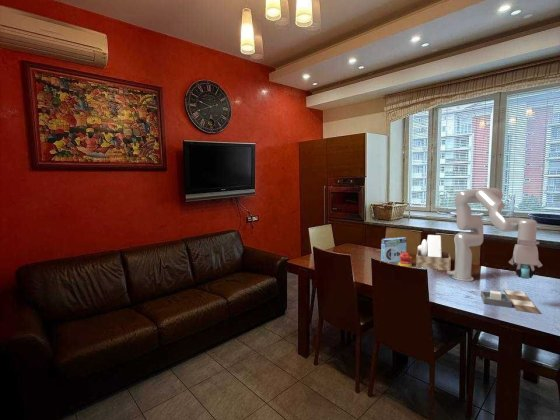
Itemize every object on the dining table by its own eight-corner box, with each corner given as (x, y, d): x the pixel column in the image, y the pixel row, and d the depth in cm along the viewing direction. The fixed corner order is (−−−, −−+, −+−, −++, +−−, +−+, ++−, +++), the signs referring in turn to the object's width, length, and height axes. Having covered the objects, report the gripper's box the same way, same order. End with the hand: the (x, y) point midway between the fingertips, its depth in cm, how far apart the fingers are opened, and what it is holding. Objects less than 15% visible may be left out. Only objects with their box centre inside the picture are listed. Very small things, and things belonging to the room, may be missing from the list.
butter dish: (441, 257, 223) (417, 255, 229) (438, 264, 238) (416, 262, 244) (440, 235, 230) (418, 234, 236) (438, 243, 245) (417, 242, 251)
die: (490, 301, 164) (491, 293, 164) (489, 298, 168) (490, 290, 168) (501, 302, 162) (502, 294, 161) (500, 299, 166) (500, 291, 165)
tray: (483, 303, 162) (484, 298, 161) (480, 296, 172) (480, 291, 172) (511, 307, 156) (511, 302, 156) (506, 299, 167) (506, 294, 167)
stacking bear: (411, 281, 199) (412, 255, 197) (395, 279, 204) (396, 253, 202) (414, 276, 208) (414, 251, 206) (398, 274, 213) (399, 250, 212)
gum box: (402, 265, 236) (402, 236, 234) (406, 267, 231) (407, 238, 229) (380, 267, 231) (380, 238, 229) (384, 269, 226) (385, 239, 224)
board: (516, 310, 153) (516, 309, 153) (503, 289, 181) (503, 289, 181) (541, 314, 148) (541, 313, 148) (524, 292, 177) (524, 292, 177)
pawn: (519, 277, 160) (520, 263, 159) (519, 276, 163) (520, 261, 162) (529, 279, 157) (530, 264, 156) (529, 277, 160) (530, 262, 160)
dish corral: (415, 267, 231) (416, 255, 230) (417, 260, 251) (417, 249, 250) (450, 270, 220) (450, 258, 219) (448, 263, 241) (449, 252, 240)
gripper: (544, 243, 158) (542, 276, 159) (505, 240, 165) (503, 273, 167) (549, 245, 151) (547, 281, 153) (508, 243, 159) (506, 276, 160)
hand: (524, 276), depth 160 cm, fingers closed on pawn, 4 cm apart
